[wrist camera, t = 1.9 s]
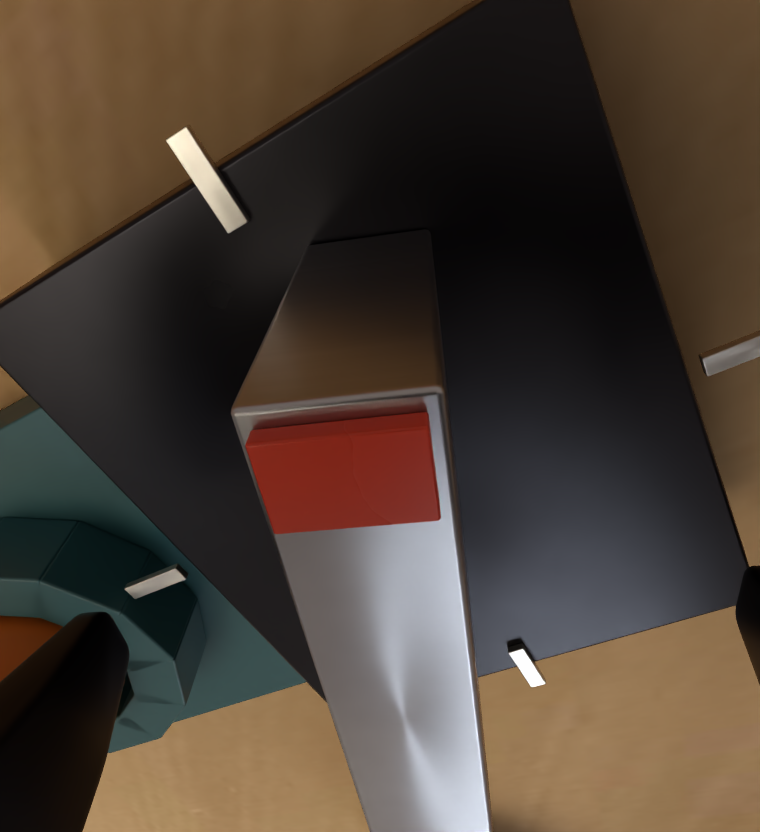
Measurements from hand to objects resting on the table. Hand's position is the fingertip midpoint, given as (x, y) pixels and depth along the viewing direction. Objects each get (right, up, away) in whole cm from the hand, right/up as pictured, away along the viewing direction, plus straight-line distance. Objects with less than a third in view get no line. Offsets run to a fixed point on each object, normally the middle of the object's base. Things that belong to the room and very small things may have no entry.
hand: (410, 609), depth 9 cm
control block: (-8, -1, +8) cm, 12 cm away
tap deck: (0, +3, +5) cm, 6 cm away
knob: (0, +2, +2) cm, 3 cm away
